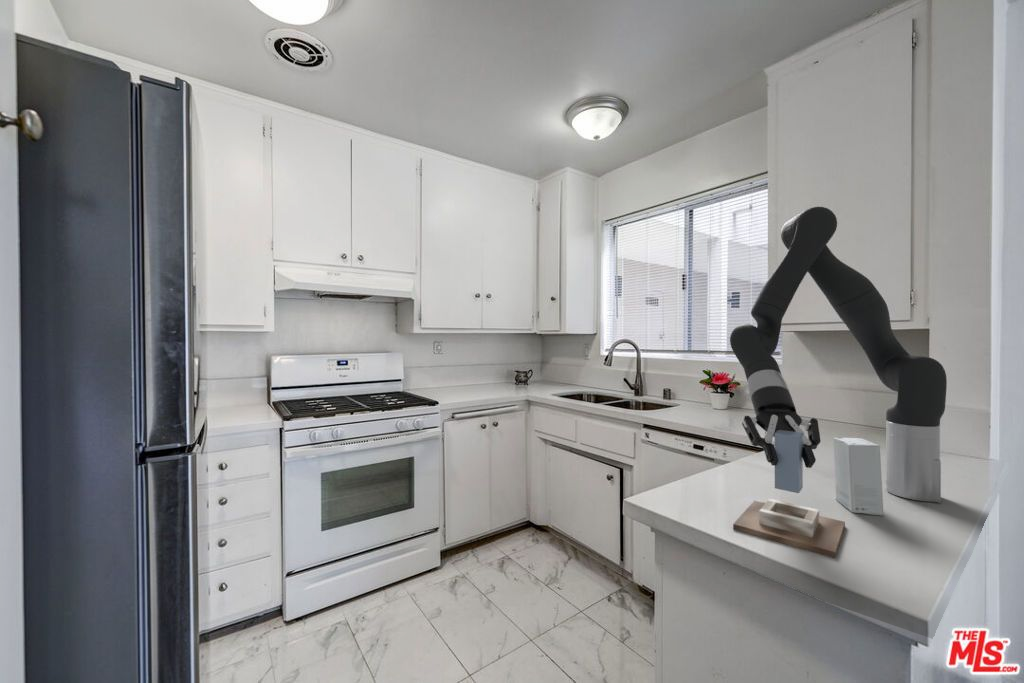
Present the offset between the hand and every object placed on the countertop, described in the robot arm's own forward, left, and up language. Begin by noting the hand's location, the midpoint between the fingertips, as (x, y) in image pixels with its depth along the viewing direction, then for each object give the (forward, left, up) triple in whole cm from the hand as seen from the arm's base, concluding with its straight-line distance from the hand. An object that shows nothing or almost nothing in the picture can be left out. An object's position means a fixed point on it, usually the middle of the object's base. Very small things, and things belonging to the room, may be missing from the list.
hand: (792, 464), depth 80 cm
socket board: (+1, -2, -13) cm, 13 cm away
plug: (+1, -2, -5) cm, 6 cm away
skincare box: (-8, -24, -13) cm, 28 cm away
